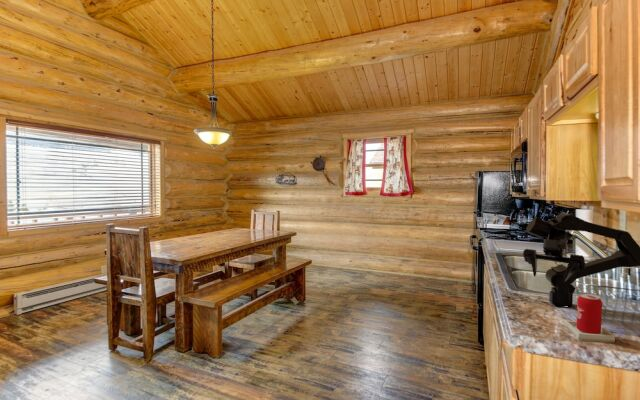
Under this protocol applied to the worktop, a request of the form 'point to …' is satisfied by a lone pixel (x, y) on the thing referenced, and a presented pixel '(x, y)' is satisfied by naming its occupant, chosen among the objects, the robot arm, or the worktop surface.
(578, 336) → the tray
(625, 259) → the robot arm
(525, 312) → the worktop surface
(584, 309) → the beverage can
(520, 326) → the worktop surface
